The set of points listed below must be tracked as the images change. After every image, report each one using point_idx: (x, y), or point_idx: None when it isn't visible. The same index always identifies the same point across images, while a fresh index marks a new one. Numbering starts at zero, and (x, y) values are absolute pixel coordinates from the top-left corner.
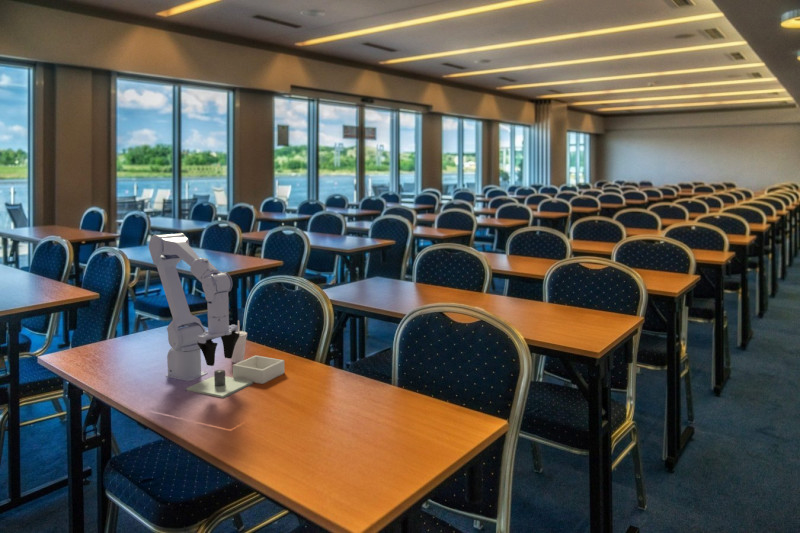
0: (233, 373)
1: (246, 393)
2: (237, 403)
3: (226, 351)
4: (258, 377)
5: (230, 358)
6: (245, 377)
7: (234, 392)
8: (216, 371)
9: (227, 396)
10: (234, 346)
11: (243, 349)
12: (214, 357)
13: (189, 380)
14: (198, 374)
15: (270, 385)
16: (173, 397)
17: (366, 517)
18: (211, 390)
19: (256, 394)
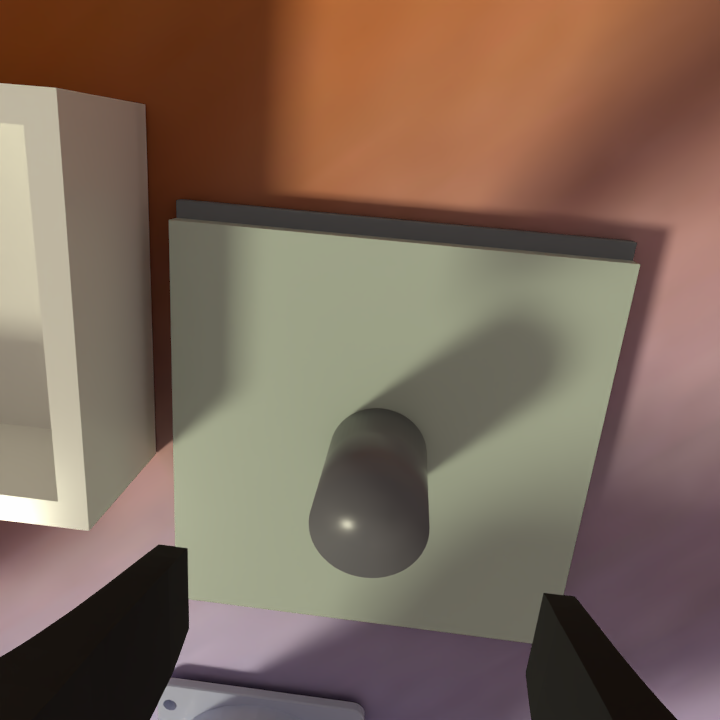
0: (130, 475)
1: (409, 130)
2: (695, 48)
3: (145, 683)
4: (112, 163)
5: (185, 548)
6: (132, 332)
7: (465, 238)
8: (383, 555)
9: (586, 239)
10: (23, 648)
11: None
12: (594, 678)
13: (360, 712)
14: (248, 716)
15: (110, 21)
16: (690, 640)
17: None
18: (539, 439)
19: (396, 7)
